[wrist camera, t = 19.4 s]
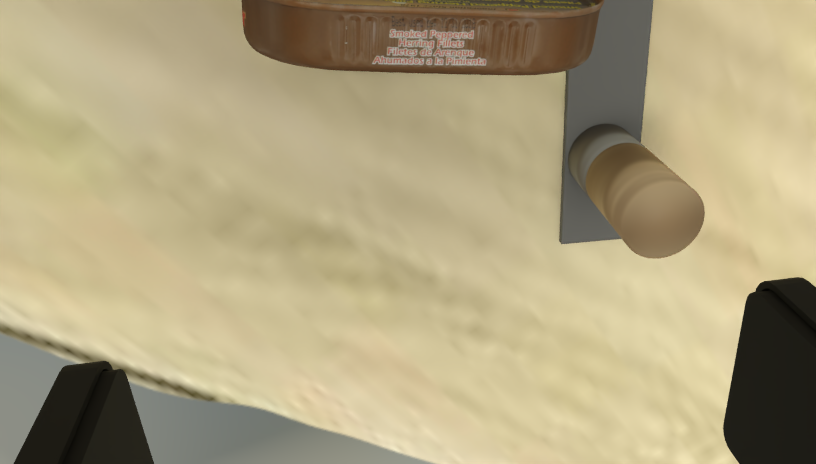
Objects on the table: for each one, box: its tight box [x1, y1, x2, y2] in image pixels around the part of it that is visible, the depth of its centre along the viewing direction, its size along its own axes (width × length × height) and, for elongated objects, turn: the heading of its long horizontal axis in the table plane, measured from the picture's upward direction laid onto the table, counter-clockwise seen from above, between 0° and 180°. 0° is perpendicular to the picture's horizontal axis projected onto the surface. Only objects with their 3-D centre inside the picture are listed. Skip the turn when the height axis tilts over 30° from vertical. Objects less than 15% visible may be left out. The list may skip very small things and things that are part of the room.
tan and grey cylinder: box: [568, 124, 705, 258], centre depth 34 cm, size 4×4×8 cm
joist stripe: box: [560, 0, 653, 244], centre depth 35 cm, size 22×4×1 cm, turn 3°
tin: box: [242, 0, 604, 75], centre depth 30 cm, size 15×3×8 cm, turn 87°
